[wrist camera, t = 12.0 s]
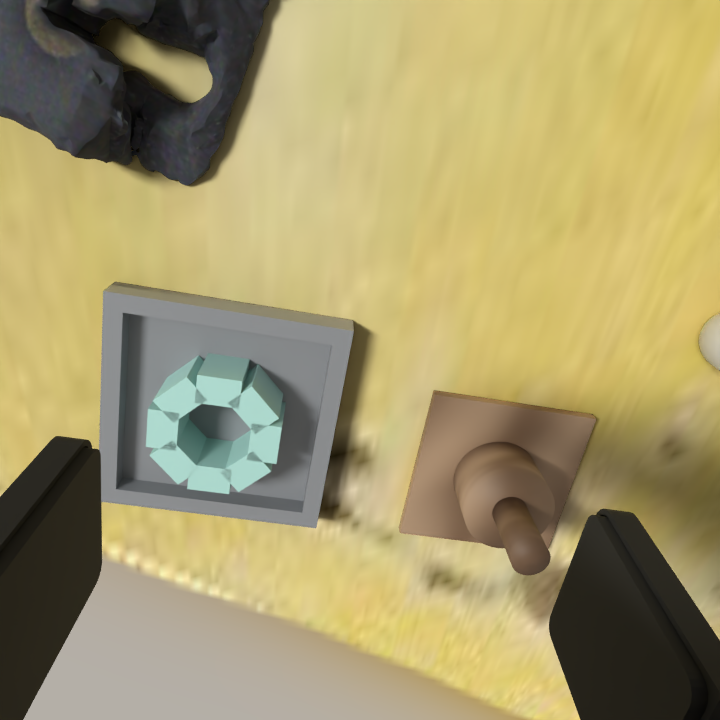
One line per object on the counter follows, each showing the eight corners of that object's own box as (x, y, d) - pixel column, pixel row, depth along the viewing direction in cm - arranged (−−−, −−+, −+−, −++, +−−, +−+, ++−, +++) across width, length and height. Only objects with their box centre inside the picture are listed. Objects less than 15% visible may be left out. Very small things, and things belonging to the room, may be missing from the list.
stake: (592, 414, 37) (658, 490, 29) (544, 545, 40) (591, 642, 33) (433, 390, 36) (460, 463, 28) (399, 526, 39) (414, 623, 32)
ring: (291, 365, 34) (287, 387, 31) (275, 469, 37) (271, 499, 34) (165, 346, 33) (150, 368, 30) (158, 454, 36) (143, 483, 33)
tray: (352, 320, 34) (353, 331, 32) (316, 510, 39) (316, 528, 37) (115, 281, 32) (103, 291, 31) (108, 483, 37) (97, 501, 36)
